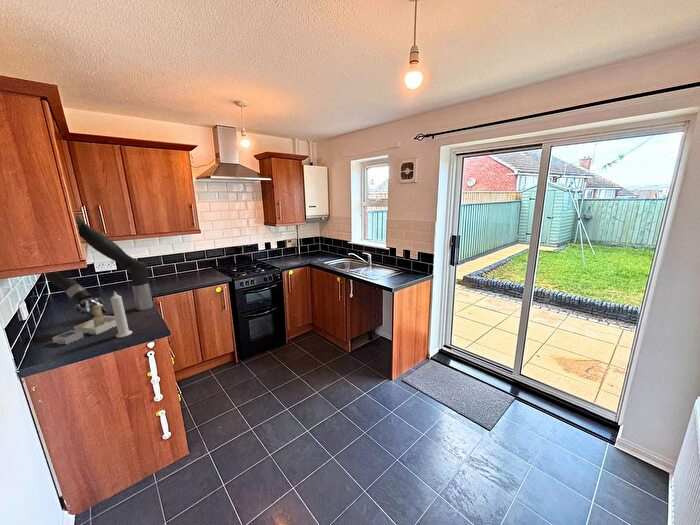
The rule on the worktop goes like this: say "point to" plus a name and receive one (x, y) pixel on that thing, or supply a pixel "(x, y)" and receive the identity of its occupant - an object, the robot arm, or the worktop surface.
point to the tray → (91, 329)
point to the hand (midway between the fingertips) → (99, 314)
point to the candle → (120, 316)
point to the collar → (68, 337)
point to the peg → (97, 315)
